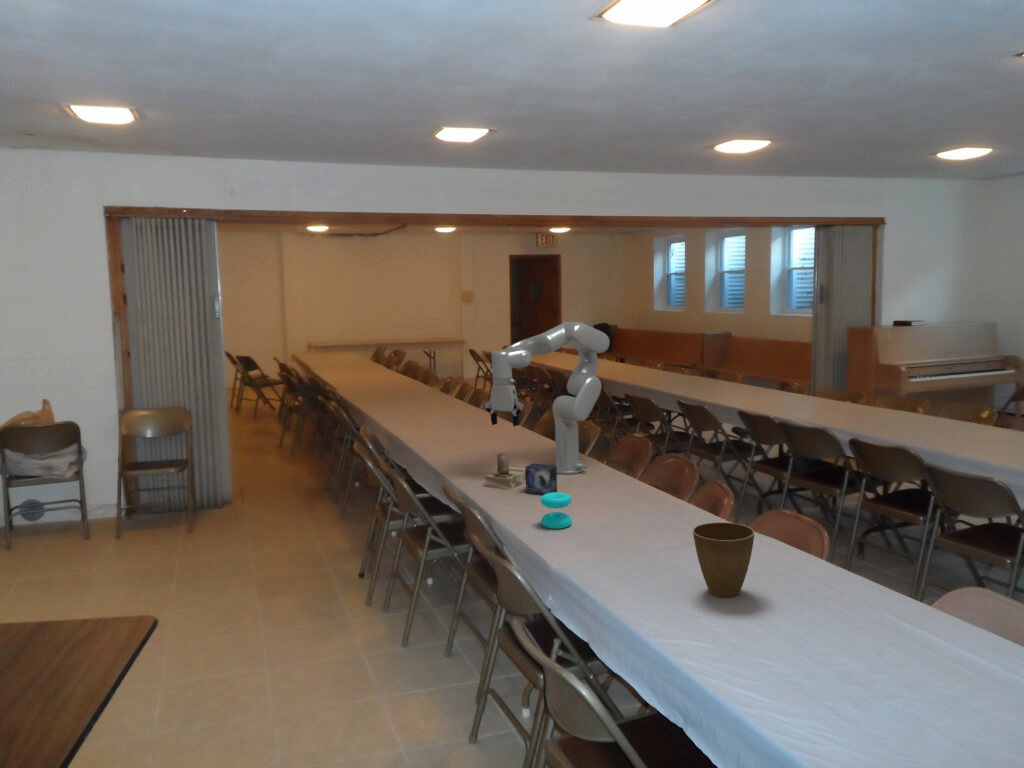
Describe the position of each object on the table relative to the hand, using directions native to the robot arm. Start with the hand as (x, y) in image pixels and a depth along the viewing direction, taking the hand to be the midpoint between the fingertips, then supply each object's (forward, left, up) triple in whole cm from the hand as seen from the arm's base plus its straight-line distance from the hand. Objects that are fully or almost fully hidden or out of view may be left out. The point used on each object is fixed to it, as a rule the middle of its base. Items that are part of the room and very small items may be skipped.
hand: (505, 425), depth 317 cm
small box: (-20, +8, -23) cm, 32 cm away
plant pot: (-108, +72, -23) cm, 132 cm away
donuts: (-44, +41, -23) cm, 65 cm away
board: (-1, -1, -23) cm, 23 cm away
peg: (-1, +5, -23) cm, 23 cm away
